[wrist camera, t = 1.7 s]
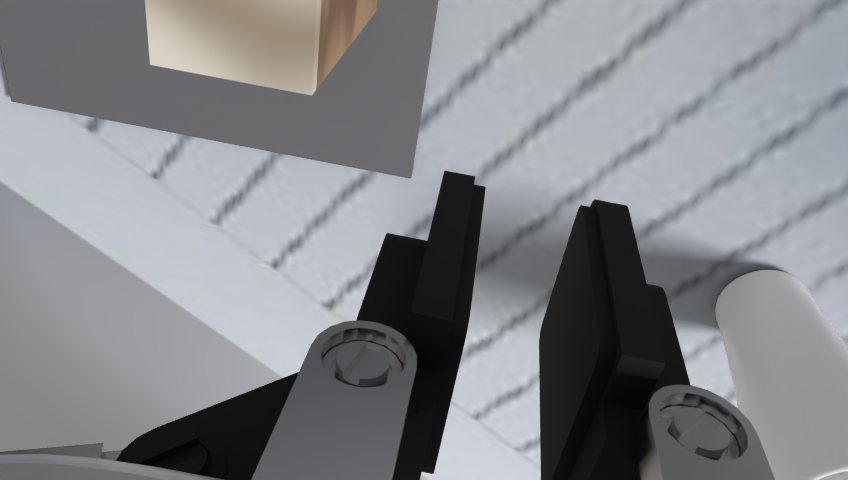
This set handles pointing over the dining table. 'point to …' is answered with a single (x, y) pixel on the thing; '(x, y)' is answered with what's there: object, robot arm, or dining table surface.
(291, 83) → the wooden box
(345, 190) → the dining table surface
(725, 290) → the drinking glass
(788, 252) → the dining table surface
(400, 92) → the rubber mat
